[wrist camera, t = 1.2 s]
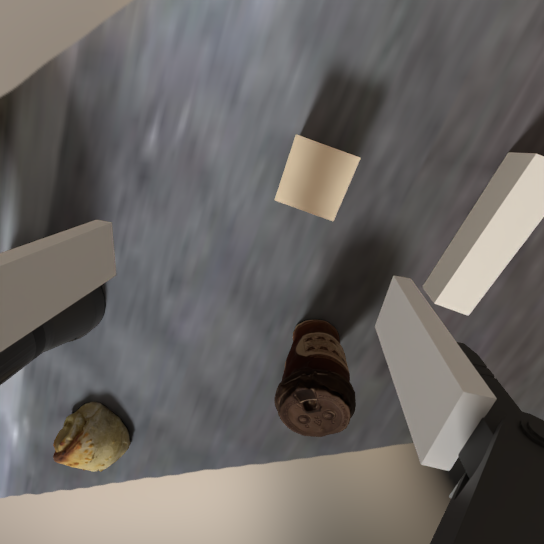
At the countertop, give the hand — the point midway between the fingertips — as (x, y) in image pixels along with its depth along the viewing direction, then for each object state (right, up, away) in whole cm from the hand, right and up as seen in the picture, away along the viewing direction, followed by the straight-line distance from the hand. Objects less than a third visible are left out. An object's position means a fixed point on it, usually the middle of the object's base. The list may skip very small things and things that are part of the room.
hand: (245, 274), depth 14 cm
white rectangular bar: (+24, +4, +18) cm, 30 cm away
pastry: (-31, -30, +43) cm, 61 cm away
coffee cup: (+7, -9, +27) cm, 29 cm away
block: (+6, +11, +18) cm, 22 cm away
